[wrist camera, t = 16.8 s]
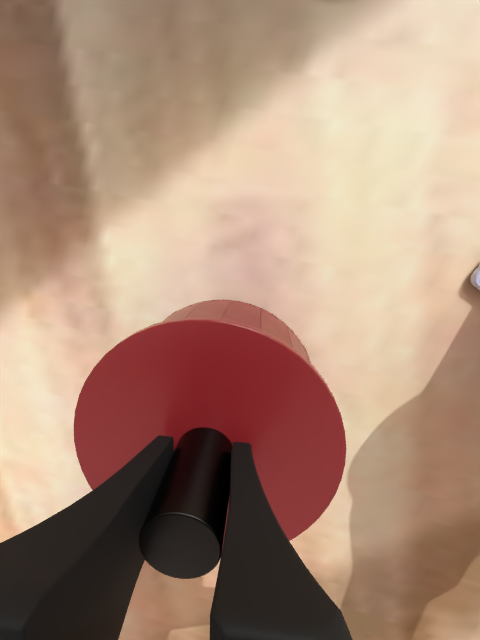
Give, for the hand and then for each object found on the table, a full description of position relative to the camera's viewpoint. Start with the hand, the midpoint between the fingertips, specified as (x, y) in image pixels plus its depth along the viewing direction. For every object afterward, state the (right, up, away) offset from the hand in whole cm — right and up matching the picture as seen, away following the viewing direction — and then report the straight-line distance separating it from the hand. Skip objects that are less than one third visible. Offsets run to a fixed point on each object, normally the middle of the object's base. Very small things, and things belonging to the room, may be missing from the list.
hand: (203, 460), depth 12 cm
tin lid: (0, 0, +1) cm, 1 cm away
